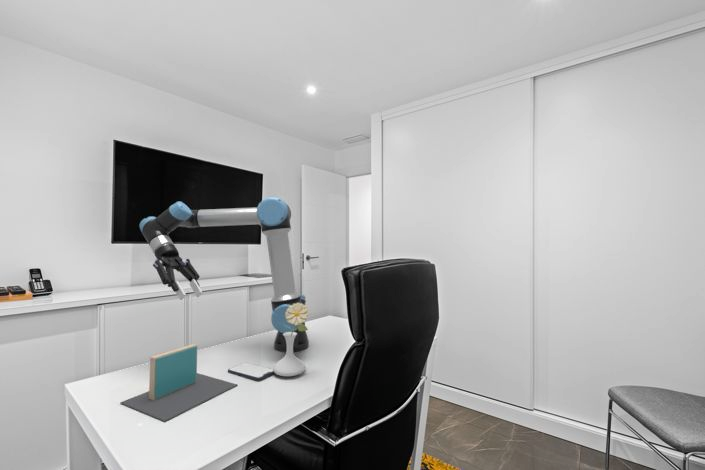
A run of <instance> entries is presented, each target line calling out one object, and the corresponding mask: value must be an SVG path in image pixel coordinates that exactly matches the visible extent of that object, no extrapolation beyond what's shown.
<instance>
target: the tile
mask: <svg viewBox="0 0 705 470" xmlns="http://www.w3.org/2000/svg"><path fill="white" fill-rule="evenodd" d="M197 371H198V344H195V343H191V344H189V345H185V346H182V347H179V348H175V349H172V350H169V351H166V352H163V353H159V354H156V355H153V356H150V358H149V386H148V391H149V399H151V400H156V399H158V398H160V397H163V396H165V395H167V394H170V393H172V392H174V391H177V390H179V389H181V388H184V387H186V386H189V385H191V384H193V383H196V380H197V373H198V372H197Z"/></svg>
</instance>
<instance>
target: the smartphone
mask: <svg viewBox="0 0 705 470" xmlns="http://www.w3.org/2000/svg"><path fill="white" fill-rule="evenodd" d="M227 373H228V374H231V375H234V376H237V377H241V378H243V379H247V380H250V381H254V382H262V381H265V380H267V379H268V378H270V377H273V376H274V375H276V374H275V373H274V371H273V368H271V367H270V368H269V367H265V366H262V365H257V364H253V363H249V362H242V363H240V364H238V365H235V366H232V367H231V368H228V369H227Z"/></svg>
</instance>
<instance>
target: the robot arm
mask: <svg viewBox="0 0 705 470" xmlns="http://www.w3.org/2000/svg"><path fill="white" fill-rule="evenodd" d="M291 218H292V210H291V208H290V206H289V205H288V204H287V203H286V202H285V201H284V200H283V199H282V198H279V197H278V196H277V197H276V196H269V197H266V198H263V199H262V200H261V201H260V202H259V203H258V205H257V207H235V208H215V209H213V208H212V209H211V208H210V209H208V208H207V209H191V208H189V207H188V205H186V204H185V203H184V202H183V201H176V202H175V203H173V204H171V205H170V206H169V207H168V208H167V209H165V210H164V211H163V212H162V213H161V214H159V215H158V216H157V217H156V216H147V217H146V218H145V217H144V218H143V219H142V220H141V221H140V223H139V229H140V232H141V234H142V236H143V237H144V238H145V240H146V241H147V243H148V245H149V248H150V249H151V251H152V252H153V254H154V257H155V258H156V259H155V261H154V262H153V264H152V266H153V267H154V269H155V270H156V271H157V274H158V276H159V279H160V281H161V282H162V284H163V286H166V285H167V287H168V288H171V289H172V291H173V292H175V293H176V295H177V297H178V299H179V300H180V301H181V300H183V299H185V297H186V296H187V294H186V293H185V291H184V288H183V287H182V285H181V284H180V282H179V280H176V278H175V271H174V270H176V272H179V273H180V274H181V275H182V276H183V277H184V278H185V279H186V280H187V281H188V282H189V286H190V288H191V290H192V291H193V292H194V295H195V296H196V298H199V297H200V296H201V295H202V294H203V290H202V289H201V287H200V285H201V284H200V283H199V282H198V280H199V278H200V277H201V276H200V275H199V273H198V272H197V270H196V268H195V267H194V266H193V265H192V263H191V260H190V259H189V258H186V259H183V258H182V257H180V253H179V250H178V249H177V247H176V245H175V244H174V243H173V241H172V238H170V235H169V234H170V233H172V232H173V231H174V230H176V229H177V228H178V227H181V228H188V229H193V228H201V227H202V228H204V227H205V228H206V227H225V226H227V227H228V226H247V225H252V226H253V225H254V226H255V225H259V226H260V228H261V234H263V235H264V236H265V237H266V238H265V239H266V245H267V251H268V257H269V266H270V274H271V280H272V287H273V288H272V289H273V297H272V298H271V299H270V301H271V308H272V309H271V310H272V313H271V318H270V319H271V324H272V327H273V328H274V329H275V330H276V331H277V333H276V336H275V337H274V341H273V348H274V350H276V351H280V352H285V353H286V352H287V345H286V339H285V337H284V336H283V333H286V332H292V331H293V330H294V328H295V327H296V325H293V324H290V323H288V322H287V320H288V319H286V316H285V313H286V311H287V309H288V308H289V306H291V305H293V304H297V303H300V304H303V305H305V306H306V302H307V300H306V296H305V294H299V293H298V292H297V291H296V284H295V277H294V269H293V263H292V253H291V246H290V240H289V232H290V231H291V229H292V228H291ZM301 324H304V325H305V326H306V321H305V322H303V323H301ZM284 325H285V326H284ZM299 325H300V324H299ZM286 326H288V327H290V328H291V329H290V328H288V327H286ZM297 326H298V325H297ZM293 332H296V333H297V335H296V337H295V339H294V343H293V352H300V351H302V350H306V349H308V348H309V344H310V343H309V342H310V341H309V337H308V334H307V330H306V331H299V330H298V329H297V327H296V329H295V330H294V331H293ZM305 348H306V349H305Z"/></svg>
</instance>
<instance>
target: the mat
mask: <svg viewBox="0 0 705 470" xmlns="http://www.w3.org/2000/svg"><path fill="white" fill-rule="evenodd" d="M236 387H238V384H237V383H233V382H230V381H226V380H223V379H220V378H215V377H213V376H208V375H206V374H201V373H198V372H197V380H196V383H193V384H191V385H189V386H186V387H184V388H181V389H179V390H177V391H174V392H172V393H170V394H167V395H165V396H163V397H160V398H158V399H156V400H151V399H149V390H148V391H146V392H142V393H140V394H137V395H135V396H134V397H133V396H132V397H131V398H128V399H125V400H123V401H121V402H120V405H123V406H125V407H127V408H130V409H131V410H134V411H137V412H139V413H141V414H144V415H145V416H149V417H151V418H154V419H156V420H158V421H161V422H163V423H166V422H168V421H170V420H173V419H174V418H177V417H179V416H180V415H182V414H184V413H186V412H188V411H190V410H192V409H194V408H196V407H198V406H201V405H202V404H204V403H206V402H209V401H210V400H212V399H214V398H217V397H218V396H220V395H222V394H224V393H226V392H228V391H231V390H233V389H235V388H236Z"/></svg>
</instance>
